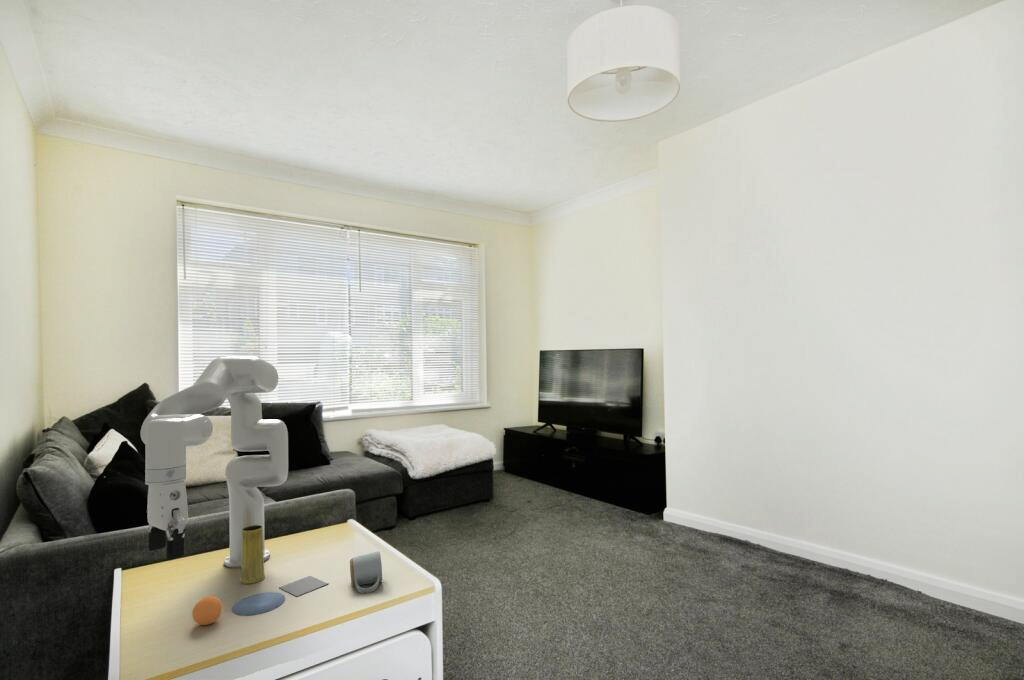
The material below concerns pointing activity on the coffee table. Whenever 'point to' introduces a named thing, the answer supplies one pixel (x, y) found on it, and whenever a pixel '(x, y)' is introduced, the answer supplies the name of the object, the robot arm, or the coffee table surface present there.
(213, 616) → the ball
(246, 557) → the vase
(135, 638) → the coffee table surface
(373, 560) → the grey rounded holder
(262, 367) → the robot arm
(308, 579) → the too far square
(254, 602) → the disc
